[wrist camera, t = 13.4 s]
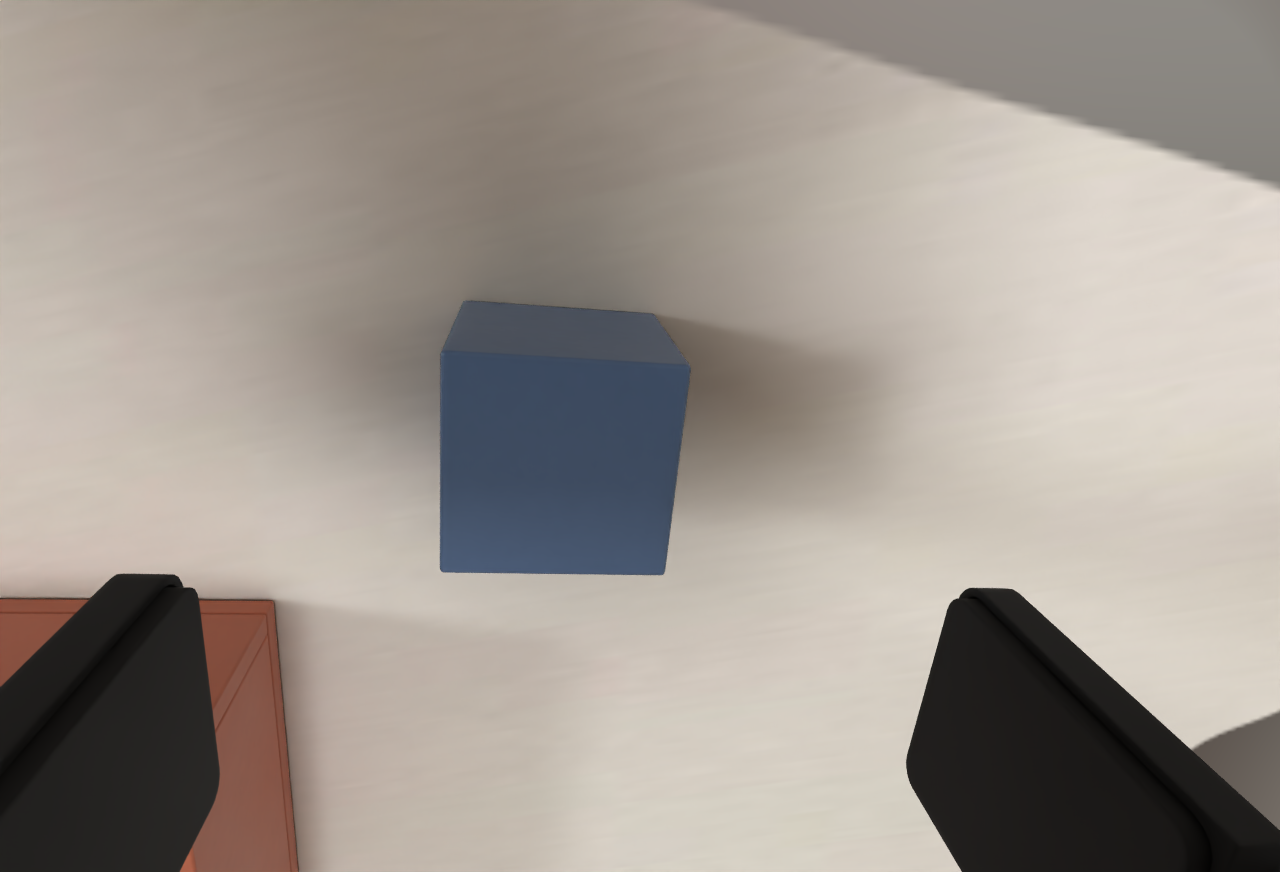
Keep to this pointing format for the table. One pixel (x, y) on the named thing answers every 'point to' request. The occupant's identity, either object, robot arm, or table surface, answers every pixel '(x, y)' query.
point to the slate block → (558, 440)
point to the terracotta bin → (243, 718)
